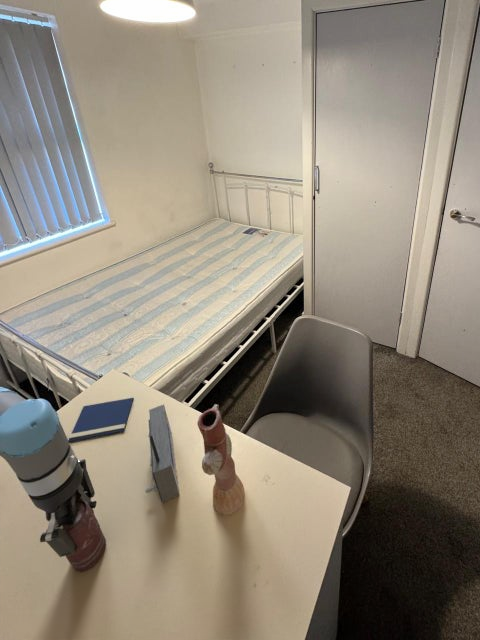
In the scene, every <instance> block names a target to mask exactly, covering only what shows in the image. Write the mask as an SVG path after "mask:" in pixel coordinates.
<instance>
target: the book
mask: <svg viewBox="0 0 480 640" xmlns="http://www.w3.org/2000/svg"><path fill="white" fill-rule="evenodd" d="M134 400H135V398H134V397H129V398H123V399H117V400H111V401H106V402H100V403H95V404H88V405H84V406H82V409H81V411H80V413H79V416H78V417H77V420H76V423H75V425H74V427H73V429H72V432H71V433H70V434H69V437H68V441H69V443H73V442H79V441H84V440H89V439H94V438H95V439H96V438H99V437H105V436H110V435H114V434H120V433H125V430H126V427H127V424H128V419H129V417H130V413H131V409H132V406H133V403H134Z"/></svg>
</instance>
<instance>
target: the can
mask: <svg viewBox="0 0 480 640" xmlns="http://www.w3.org/2000/svg"><path fill="white" fill-rule="evenodd" d="M75 505H76V508H77V511H76V514H75V515H76V518H75V521H74V524H73V525H70V524H68V525H69V526H68V525H64V526H65V527H63V528H62V529H64V530H65V531H66V532H67V533H68V534H69V536H70V537H71V538H72V539H73V540H74V542H75V543H76V545H77V551H76V553H74V554H70V555H67V556H65V558H66V560H67V561H68V563H69V564H70V566H71V568H72V569H73V570H74V571H75V572H80V573H81V572H85V571H87V570H89V569H91V568H93V567H94V566H95V565H96V564H97V563H98V562H99V560H100V559H101V558H102V556H103V554H104V552H105V550H106V546H107V540H106V537H105V535H104V533H103V531H102V528H101V525H100V523H99V521H98V520H96V519H97V517H96V515H95V513H94V514H93V512H92V510H91V508H90V506H89V503H88V502H86V501H85V500H75ZM94 515H95V516H94ZM95 517H96V518H95ZM97 521H98V522H97ZM98 523H99V524H98ZM99 525H100V526H99Z"/></svg>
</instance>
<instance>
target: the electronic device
mask: <svg viewBox="0 0 480 640" xmlns="http://www.w3.org/2000/svg"><path fill="white" fill-rule="evenodd" d="M148 413H149V415H148V416H149V419H148V437H149V450H150V452H149V453H150V468H151V475H152V476H151V478H152V481H153V482H154V483H153V484H152V485H151V486H149V487H147V488H145V493H146V494H148V493H150V492H153V491H157V494H158V497H159V500H160V502H161V503H165V502H167V501H169V500H172V499H173V498H176V497H178V496H180V488H179V481H178V473H177V465H176V464H177V463H176V457H175V451H174V450H175V448H174V443H173V435H172V434H173V433H172V428H171V425H170V421H169V417H168V414H167V410H166V406H165V404H161V405H158V406H155V407H153V408H151V409H149V410H148Z"/></svg>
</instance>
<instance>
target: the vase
mask: <svg viewBox="0 0 480 640" xmlns="http://www.w3.org/2000/svg"><path fill="white" fill-rule="evenodd" d="M219 409H220V406H219V404H216V403H215V404H214V405H213V406H212V407H211V408H208V409H207V410H205V411H203V412H202V413H201V414H200V415H199V416H198V418H197V424H196V425H197V427H198V429H199V431H200V433H201V436H202V439H203V447H204V456H203V458H202V460H201V468H202V471H203V473H204V474H206V475H208V476H213V475H214V480H215V482H214V484H213V488H212V507H213V509H214V510H215V511H216V512H217V513H218V514H221V515H225V516H229V515H231V514H233V513H236V512H237V511H238V510H239V509H240V508H241V507H242V505H243V503H244V502H243V501H244V497H245V487H244V484H243V482H242V480H241V479H240V478H239V476H238V475H237V473H236V464H235V460H234V459H233V457H232V451H233V444H232V439H231V436H230V435H229V434H228V433H227V432H226V428H225V424H224V422H223V418H222V414H221V412H220V411H219Z"/></svg>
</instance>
